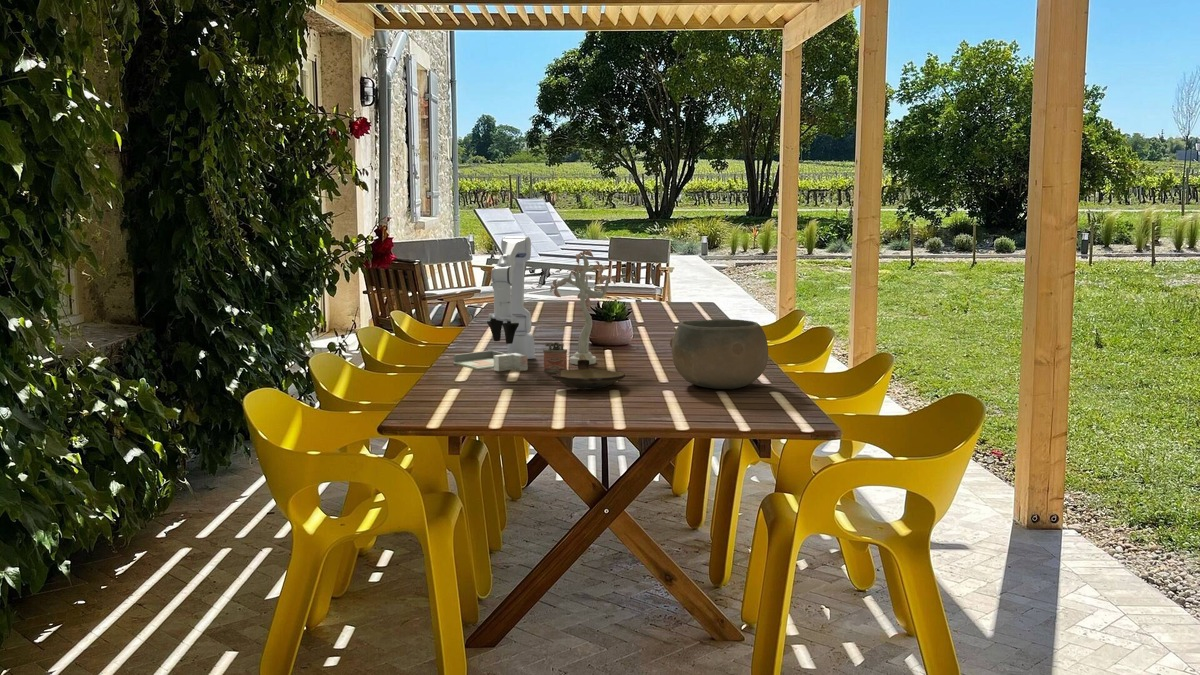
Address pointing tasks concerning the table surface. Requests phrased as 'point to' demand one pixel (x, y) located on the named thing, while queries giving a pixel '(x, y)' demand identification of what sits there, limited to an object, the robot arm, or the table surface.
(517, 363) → the bracket
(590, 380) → the oil lamp
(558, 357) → the lighter
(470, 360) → the arena
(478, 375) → the table surface
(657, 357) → the table surface
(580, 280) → the white tree stand
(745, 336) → the clay pot
